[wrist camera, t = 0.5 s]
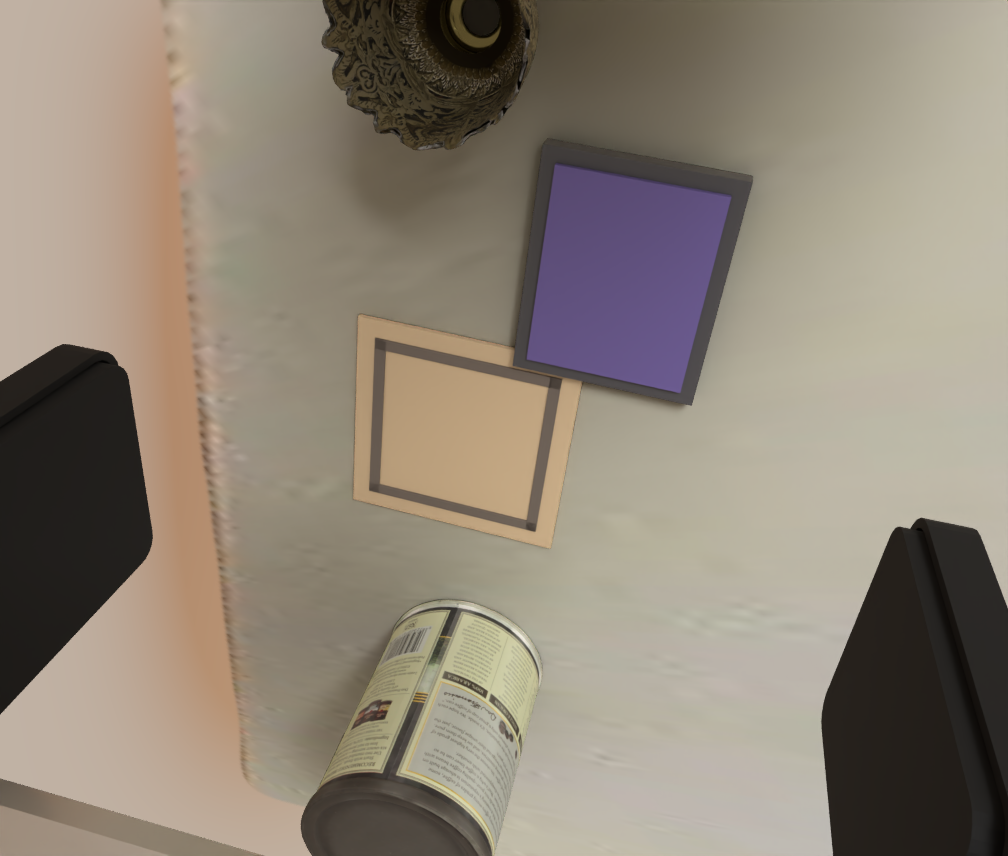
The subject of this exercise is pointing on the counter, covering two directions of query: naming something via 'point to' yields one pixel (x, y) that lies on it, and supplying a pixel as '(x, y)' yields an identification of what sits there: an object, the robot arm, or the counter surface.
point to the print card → (459, 431)
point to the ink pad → (626, 268)
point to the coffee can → (431, 740)
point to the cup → (429, 65)
